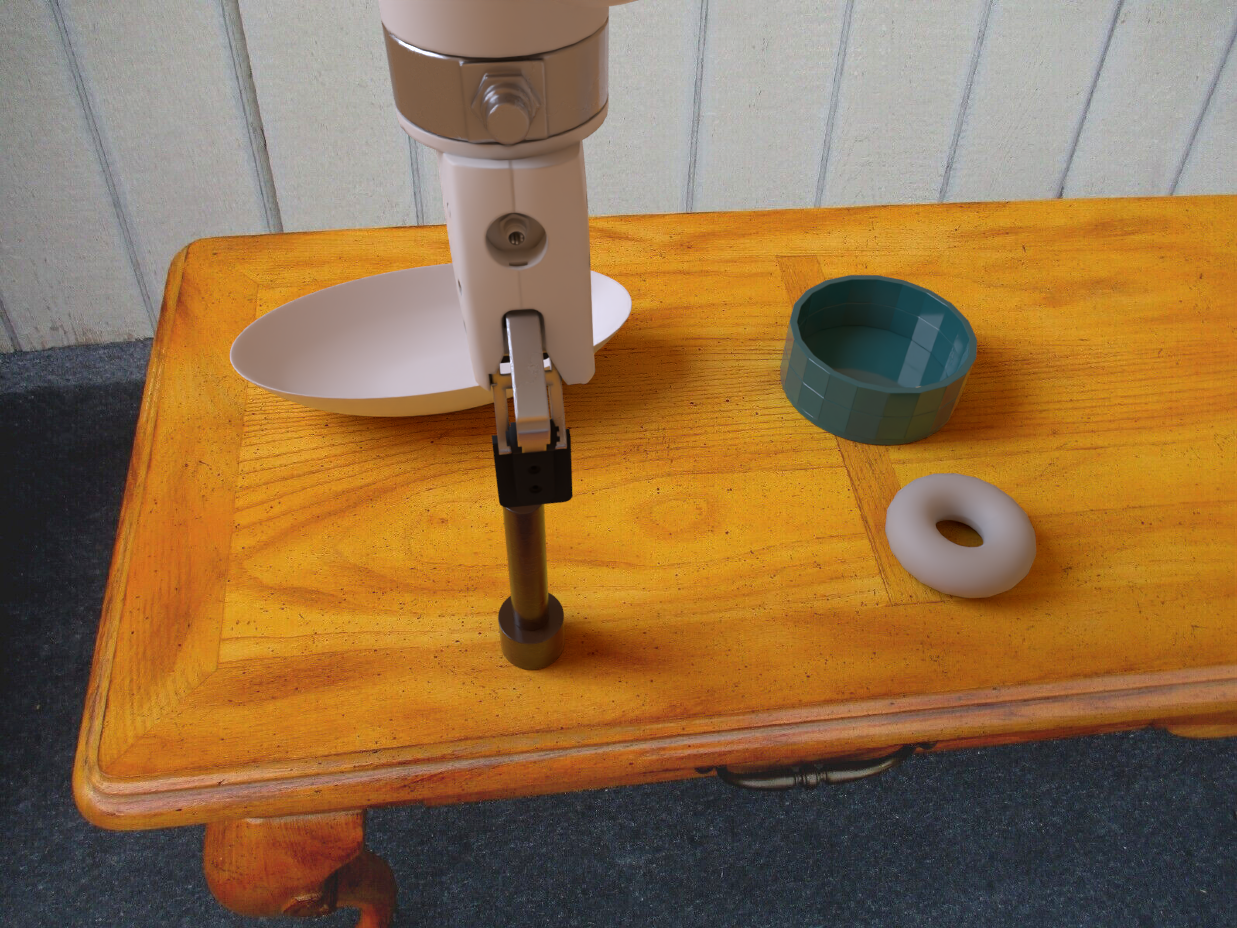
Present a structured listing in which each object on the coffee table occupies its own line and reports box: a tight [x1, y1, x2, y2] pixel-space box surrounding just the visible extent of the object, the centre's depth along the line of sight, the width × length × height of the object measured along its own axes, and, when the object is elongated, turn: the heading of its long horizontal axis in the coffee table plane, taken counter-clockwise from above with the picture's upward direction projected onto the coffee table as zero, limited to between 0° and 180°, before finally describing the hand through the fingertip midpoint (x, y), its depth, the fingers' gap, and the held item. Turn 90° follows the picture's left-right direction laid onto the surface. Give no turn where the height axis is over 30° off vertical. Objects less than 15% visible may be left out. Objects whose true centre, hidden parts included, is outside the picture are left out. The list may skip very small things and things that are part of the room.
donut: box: [884, 472, 1037, 599], centre depth 65 cm, size 10×4×10 cm
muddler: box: [497, 504, 566, 671], centre depth 55 cm, size 4×4×14 cm
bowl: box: [229, 262, 633, 418], centre depth 74 cm, size 30×15×6 cm, turn 106°
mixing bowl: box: [779, 274, 978, 446], centre depth 76 cm, size 14×14×6 cm
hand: (527, 423), depth 45 cm, fingers open, 9 cm apart
